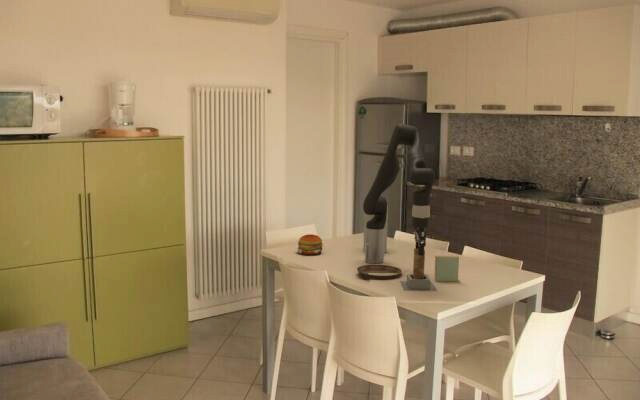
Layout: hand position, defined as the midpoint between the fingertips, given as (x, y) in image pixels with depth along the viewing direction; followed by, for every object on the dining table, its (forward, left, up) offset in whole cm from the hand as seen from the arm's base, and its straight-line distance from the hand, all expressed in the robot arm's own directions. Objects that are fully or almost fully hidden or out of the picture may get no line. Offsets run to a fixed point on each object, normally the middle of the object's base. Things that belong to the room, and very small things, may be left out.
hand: (419, 252), depth 257 cm
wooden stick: (0, 0, -15) cm, 15 cm away
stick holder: (0, 0, -16) cm, 16 cm away
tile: (+14, +10, -16) cm, 23 cm away
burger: (-48, +62, -16) cm, 80 cm away
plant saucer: (-15, +19, -16) cm, 29 cm away
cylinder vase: (-13, +68, -16) cm, 71 cm away
